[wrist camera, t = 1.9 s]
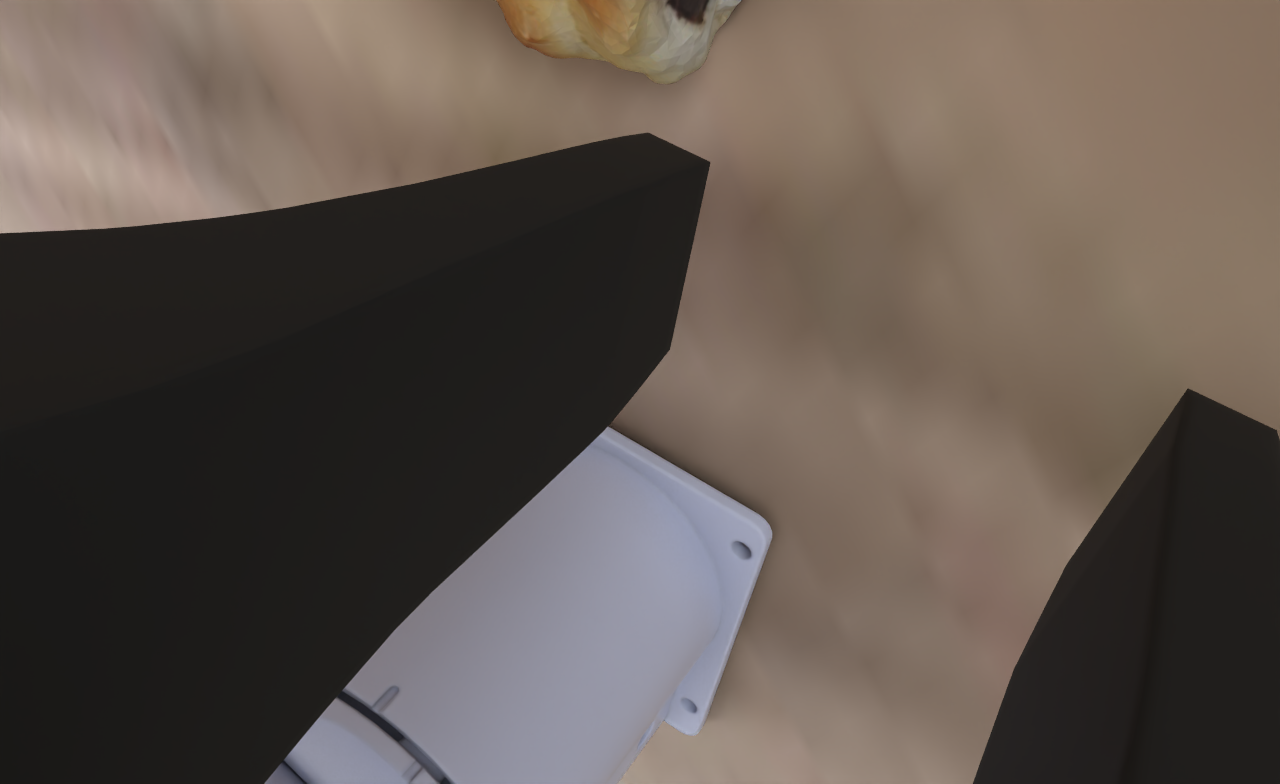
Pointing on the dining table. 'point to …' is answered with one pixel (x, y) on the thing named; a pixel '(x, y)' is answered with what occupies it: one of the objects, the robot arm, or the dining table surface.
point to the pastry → (622, 31)
